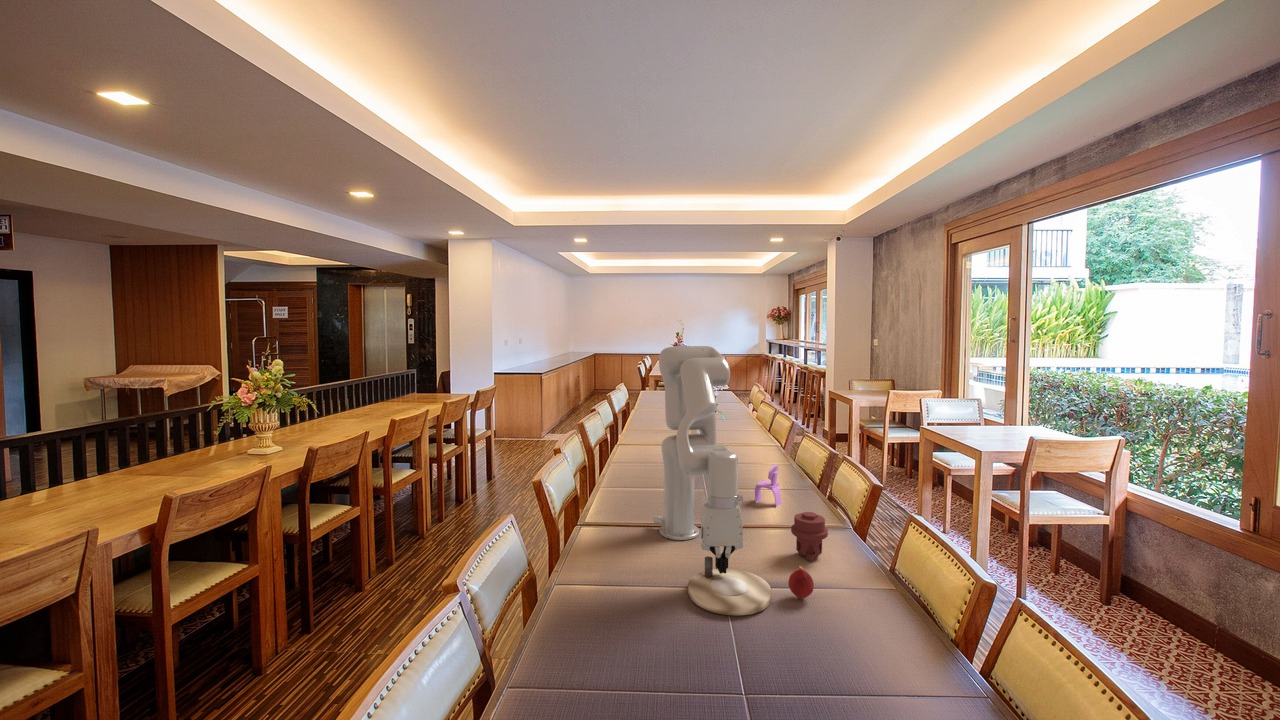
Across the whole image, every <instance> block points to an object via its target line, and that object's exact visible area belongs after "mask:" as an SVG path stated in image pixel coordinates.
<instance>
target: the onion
mask: <svg viewBox="0 0 1280 720" xmlns="http://www.w3.org/2000/svg"><path fill="white" fill-rule="evenodd" d="M814 586H815V585H814V580H813V577H812V576H811V575H810V573H808V571H806V570H805V569H804V568H803V567H802V566H801V565H799V566H798V567H797V569H796V570H794V571H793V572H792V573H791V574H790V575H789V578H788V588H789V590H790V591H791V593H792V594H793V595H794V596H795V597H797V599H798V600H804V599H806V598H808V597H810V596H811V595H812V593H813V592H814Z"/></svg>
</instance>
